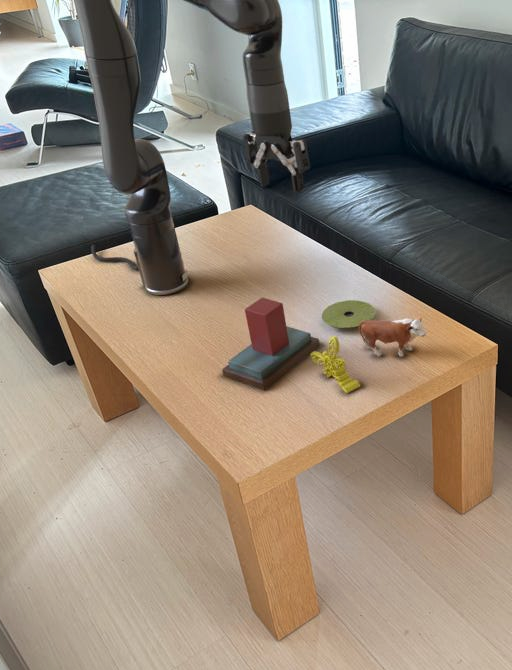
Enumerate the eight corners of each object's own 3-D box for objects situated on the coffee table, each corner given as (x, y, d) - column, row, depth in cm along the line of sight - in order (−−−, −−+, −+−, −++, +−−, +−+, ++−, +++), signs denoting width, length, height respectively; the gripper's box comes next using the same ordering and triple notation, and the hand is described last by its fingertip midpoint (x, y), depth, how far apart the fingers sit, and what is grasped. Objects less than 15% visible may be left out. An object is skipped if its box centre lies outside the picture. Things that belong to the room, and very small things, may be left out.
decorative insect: (330, 402, 140) (306, 355, 140) (344, 395, 142) (320, 348, 142) (356, 387, 129) (330, 337, 129) (371, 380, 131) (345, 330, 131)
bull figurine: (426, 362, 141) (424, 326, 136) (358, 356, 143) (355, 320, 139) (430, 349, 145) (429, 314, 140) (365, 343, 147) (361, 308, 142)
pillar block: (252, 349, 141) (244, 309, 136) (269, 337, 144) (261, 297, 139) (272, 356, 139) (265, 315, 134) (289, 343, 142) (282, 303, 137)
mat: (347, 341, 148) (346, 333, 147) (311, 322, 154) (310, 314, 153) (387, 319, 155) (386, 311, 154) (351, 302, 161) (350, 294, 160)
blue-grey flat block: (223, 376, 139) (220, 362, 137) (280, 333, 151) (278, 320, 150) (264, 390, 135) (261, 376, 133) (319, 345, 147) (317, 331, 145)
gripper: (311, 105, 138) (321, 187, 147) (253, 97, 144) (266, 177, 153) (286, 115, 133) (298, 200, 142) (226, 107, 139) (241, 189, 148)
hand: (281, 188), depth 148 cm, fingers open, 8 cm apart
